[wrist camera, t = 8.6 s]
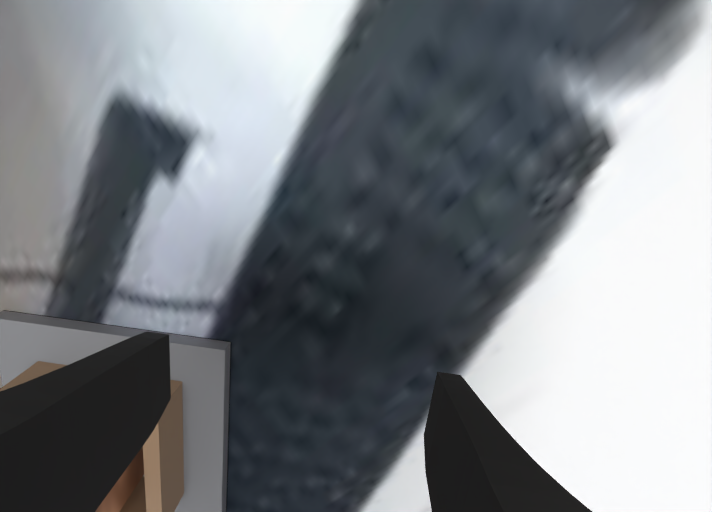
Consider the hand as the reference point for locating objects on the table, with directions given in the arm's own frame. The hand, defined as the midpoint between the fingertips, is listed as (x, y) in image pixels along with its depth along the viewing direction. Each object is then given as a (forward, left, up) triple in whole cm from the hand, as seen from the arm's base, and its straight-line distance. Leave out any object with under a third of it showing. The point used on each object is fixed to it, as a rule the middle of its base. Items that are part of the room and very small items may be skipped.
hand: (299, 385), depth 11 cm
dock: (-11, +11, -9) cm, 18 cm away
